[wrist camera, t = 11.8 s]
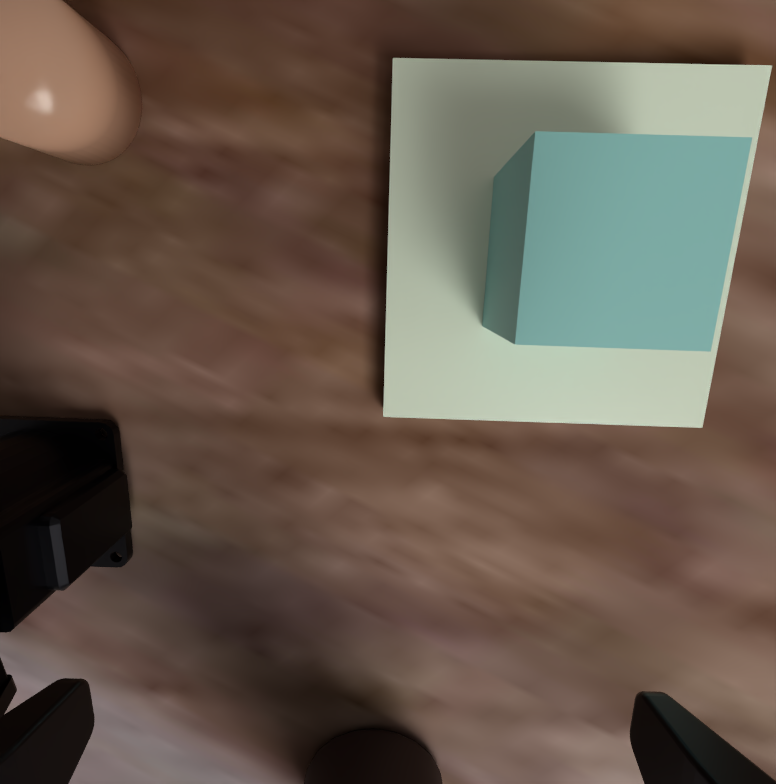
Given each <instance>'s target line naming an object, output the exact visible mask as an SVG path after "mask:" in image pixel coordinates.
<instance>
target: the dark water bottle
mask: <svg viewBox="0 0 776 784" xmlns="http://www.w3.org/2000/svg"><path fill="white" fill-rule="evenodd" d="M304 784H442V778H441V773H440V771H439V769H438V767H437V765H436V763H435V762H434V760H433V758H432V757H431V755H430V754H429V753H428V752H427V751H426V750H424V749H423V748H422V747H421V746H420V745H419V744H417V743H416V742H415V741H413V740H411V739H409V738H406V737H404V736H402V735H400V734H397V733H395V732H390V731H384V730H377V729H369V730H359V731H353V732H350V733H347V734H345V735H342V736H339V737H337V738H334V739H332V740H331V741H330V742H329V743H327V744H326V745H325V746H323V747H322V748H321V749H320V750H318V752H317V753H316V755H315V757H314V758H313V760H312V761H311V763H310V764H309V766H308V768H307V772H306V777H305V782H304Z"/></svg>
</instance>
